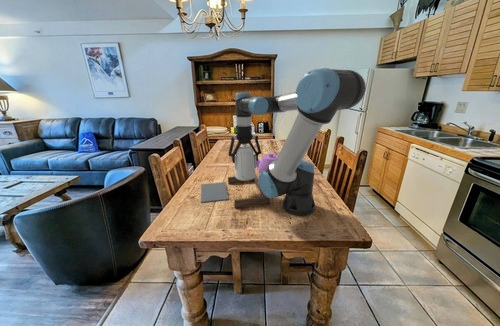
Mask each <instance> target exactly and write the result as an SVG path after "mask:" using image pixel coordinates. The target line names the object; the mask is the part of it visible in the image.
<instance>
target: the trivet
mask: <svg viewBox="0 0 500 326" xmlns="http://www.w3.org/2000/svg"><path fill="white" fill-rule="evenodd" d="M228 195H229V193H228V191H227V187H226V182H223V181H222V182H212V183H210V182H209V183H201V185H200V203H201V204H202V203H204V204H205V203H211V202H221V201H229V196H228Z"/></svg>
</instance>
